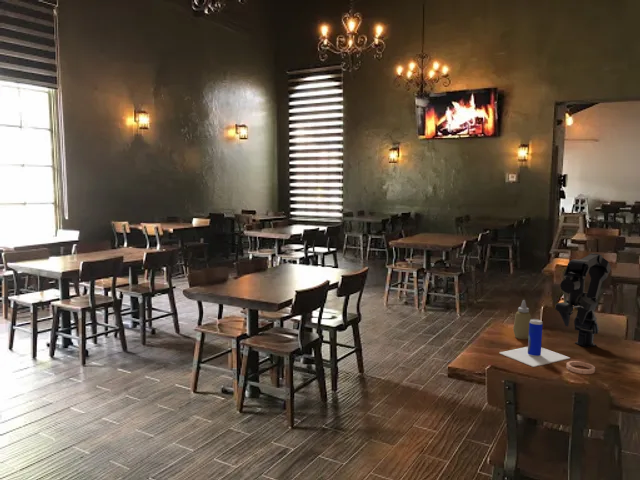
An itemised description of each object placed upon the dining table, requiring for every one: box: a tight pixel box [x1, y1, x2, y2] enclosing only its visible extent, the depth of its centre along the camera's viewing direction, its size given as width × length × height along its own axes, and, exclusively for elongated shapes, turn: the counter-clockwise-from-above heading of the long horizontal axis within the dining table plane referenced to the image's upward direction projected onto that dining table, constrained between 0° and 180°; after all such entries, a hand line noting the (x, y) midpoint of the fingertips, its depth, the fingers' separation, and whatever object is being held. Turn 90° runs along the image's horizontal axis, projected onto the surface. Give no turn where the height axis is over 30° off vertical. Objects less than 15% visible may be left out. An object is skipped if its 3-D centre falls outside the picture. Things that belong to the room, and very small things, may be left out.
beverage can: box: [527, 318, 544, 357], centre depth 224 cm, size 5×5×15 cm
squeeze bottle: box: [512, 299, 532, 340], centre depth 248 cm, size 8×8×18 cm
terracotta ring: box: [565, 360, 596, 375], centre depth 210 cm, size 10×10×2 cm
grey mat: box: [498, 346, 571, 368], centre depth 225 cm, size 22×18×1 cm
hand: (574, 325), depth 228 cm, fingers open, 9 cm apart
